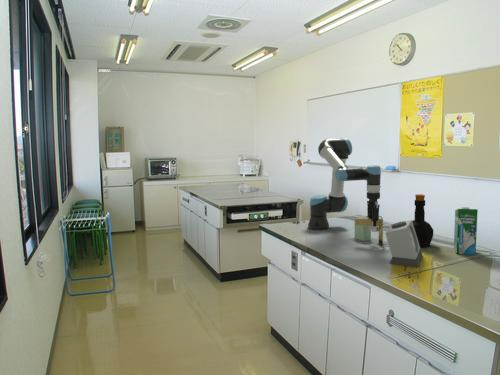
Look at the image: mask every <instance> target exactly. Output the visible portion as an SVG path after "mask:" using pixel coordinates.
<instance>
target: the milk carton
mask: <svg viewBox="0 0 500 375" xmlns="http://www.w3.org/2000/svg"><path fill="white" fill-rule="evenodd" d="M478 211H479V210H478V209H477V208H470V207H466V206H465V207H464V206H463V207H461V208H457V209H455V211H454V230H453V231H454V232H453V233H454V234H453V236H454V238H453V239H454V240H453V250H454V252H455V254H456V255H468V256H476V253H477V235H478V234H477V232H478V229H477V228H478Z"/></svg>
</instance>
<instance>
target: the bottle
mask: <svg viewBox="0 0 500 375" xmlns="http://www.w3.org/2000/svg"><path fill="white" fill-rule="evenodd" d="M425 197H426V195H425V194H415V199H414V206H415V207H414V208H415V209H414V219H413V220H412V222H413V225H414V229H415V232H416V236H417V239H418V242H419V246H420V248H427V247H430V246H431V243H432V240H433V239H434V238H433V237H434V228H433V227H432V225H431V224H430V223H429V222H428V221H426V220H425V218H426V217H425V213H426V212H425V206H426V200H425Z"/></svg>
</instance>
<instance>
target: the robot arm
mask: <svg viewBox="0 0 500 375" xmlns="http://www.w3.org/2000/svg"><path fill="white" fill-rule="evenodd" d="M317 152H318V154H319V156H320V157H321V158H322V159H324V160H325V161H326V162H327V164H328V165H329V166H330V167H331V168H332V170H331V172H332V173H331V174H332V175H331V188H330V192H329V193H328V196H327V195H326V194H321V195H320V194H319V195H314V196H312V197H310V199H309V209H310V211H309V212H310V213H309V214H310V215H309V216H310V217H309V221H308V224H307V228H308V230H309V229H310V230H313V231H314V230H315V231H322V230H323V231H325V230H328V229H330V224H329V221H328V218H327V214H332V213H344V212H345V211H346V210H347V208H348V197H347V196H346V194H345V193H344V185H345V182H348V181H349V182H350V181H351V182H352V181H366V199H368V200H367V201H366V205H367V210H366V211H367V215H366V216H367V217H368V218H372V220H371V221H372V226H369V230H371V233H373V232H375V233H376V232H377V230H378V228H377V221H378V220H379V218H380V217H379V216H380V204H378V203H379V202H378V200H380V199H381V187H382V186H381V175H382V171H381V166H380V165H373V164H371V165H367V167H365V166H361V167H354V168H353V167H351V168H349V167H348V166H347V165H346V163H347V160H348V159H349V156H350V155H351V154H352V153H353V145H352V142H351V140H350V139H349V138H346V137H345V138H343V137H342V138H337V137H336V138H326V139H324V140H322V141H321V142H320V144H319V145H318V148H317Z"/></svg>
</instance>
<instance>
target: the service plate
mask: <svg viewBox="0 0 500 375" xmlns="http://www.w3.org/2000/svg"><path fill="white" fill-rule="evenodd" d="M349 240H351V241H354V242H357V243H360V244H364V245H365V246H366V245H367V246H370V247H373V248H376V249H380V248H385V247H386V248H389V244H388V241H385V240H383V244H379V238H378V239H377V238H375V237H371V240H366V241H362V240H359V239H355V237H351V238H349Z"/></svg>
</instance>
